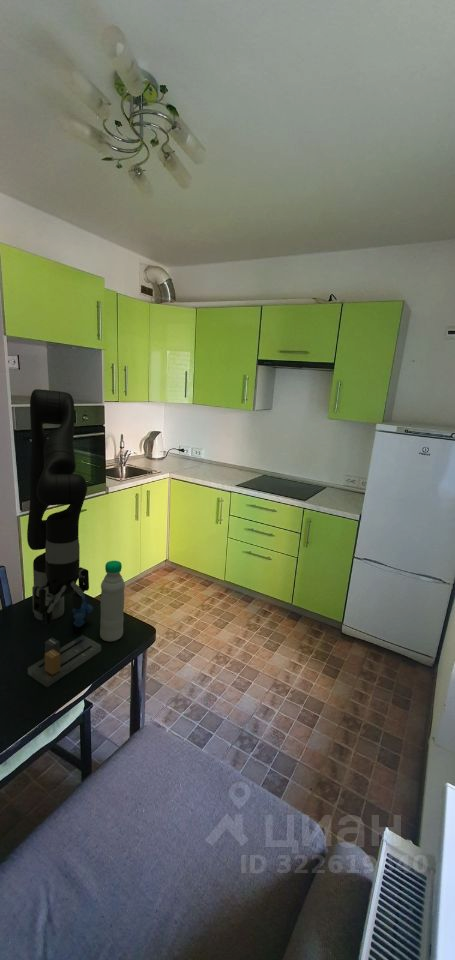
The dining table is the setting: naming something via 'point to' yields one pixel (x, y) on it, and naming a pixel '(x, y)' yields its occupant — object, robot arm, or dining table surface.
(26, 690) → the dining table surface
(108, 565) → the water bottle
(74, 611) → the grapes
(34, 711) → the dining table surface
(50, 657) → the fader
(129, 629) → the dining table surface
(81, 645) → the console
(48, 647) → the fader
